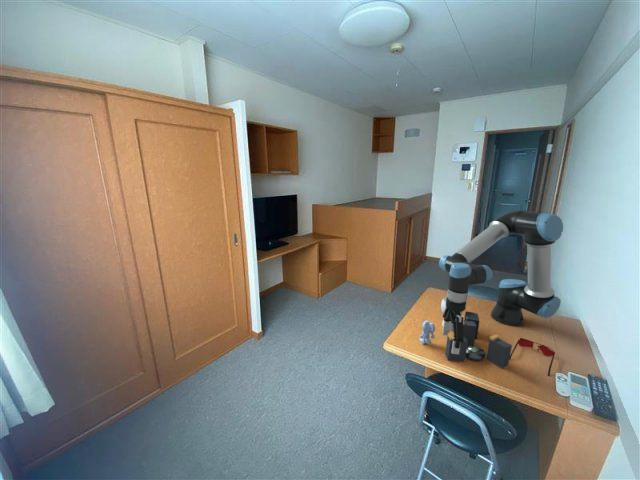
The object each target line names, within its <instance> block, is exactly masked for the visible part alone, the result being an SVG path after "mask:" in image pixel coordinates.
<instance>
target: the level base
mask: <svg viewBox="0 0 640 480" xmlns="http://www.w3.org/2000/svg"><path fill="white" fill-rule="evenodd" d="M485 358H486V352H485V350H484V348H482V347H480V346H479V345H476V344H475V343H474V344H469V343H468V344H467V351H466V358H465V360H468V361H472V362H476V363H478V362H479V363H481V362H483V361H484V360H485Z"/></svg>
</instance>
